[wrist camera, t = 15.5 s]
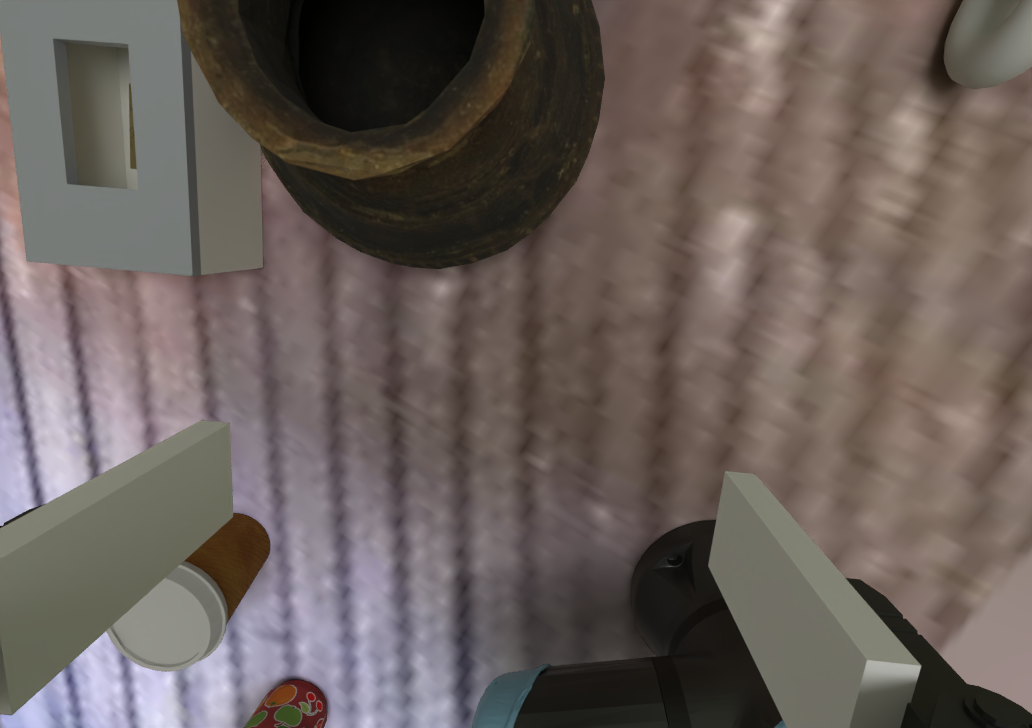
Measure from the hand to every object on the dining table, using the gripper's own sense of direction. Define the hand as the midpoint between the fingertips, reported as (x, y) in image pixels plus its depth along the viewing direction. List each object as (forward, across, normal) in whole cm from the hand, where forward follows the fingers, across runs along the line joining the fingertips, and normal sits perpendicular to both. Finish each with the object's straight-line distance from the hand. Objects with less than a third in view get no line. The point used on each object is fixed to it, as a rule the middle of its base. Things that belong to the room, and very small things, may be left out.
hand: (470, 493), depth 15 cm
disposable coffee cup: (+35, +26, +25) cm, 50 cm away
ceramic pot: (+35, +8, -16) cm, 39 cm away
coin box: (+35, +29, -12) cm, 47 cm away
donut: (+35, -31, -24) cm, 52 cm away
